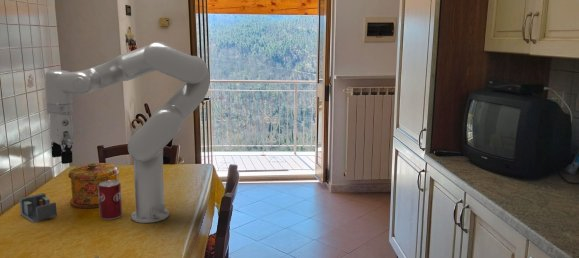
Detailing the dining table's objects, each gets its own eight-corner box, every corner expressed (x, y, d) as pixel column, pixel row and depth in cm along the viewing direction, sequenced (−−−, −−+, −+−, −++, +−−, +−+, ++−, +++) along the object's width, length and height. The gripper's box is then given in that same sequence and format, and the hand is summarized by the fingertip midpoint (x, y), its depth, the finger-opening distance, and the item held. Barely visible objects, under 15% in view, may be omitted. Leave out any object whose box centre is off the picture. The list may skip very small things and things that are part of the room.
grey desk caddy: (57, 215, 158) (56, 199, 156) (32, 222, 151) (31, 205, 150) (44, 208, 164) (43, 192, 163) (20, 215, 158) (19, 198, 157)
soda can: (98, 221, 154) (96, 187, 151) (101, 213, 160) (99, 180, 158) (121, 219, 155) (119, 185, 153) (123, 211, 162) (121, 179, 160)
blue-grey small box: (56, 214, 155) (55, 200, 154) (38, 219, 151) (37, 205, 150) (50, 210, 158) (49, 197, 157) (31, 215, 154) (30, 201, 153)
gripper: (81, 111, 144) (83, 164, 147) (63, 104, 156) (65, 153, 159) (56, 113, 139) (58, 167, 142) (39, 105, 151) (41, 156, 154)
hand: (62, 159), depth 150 cm, fingers open, 9 cm apart
